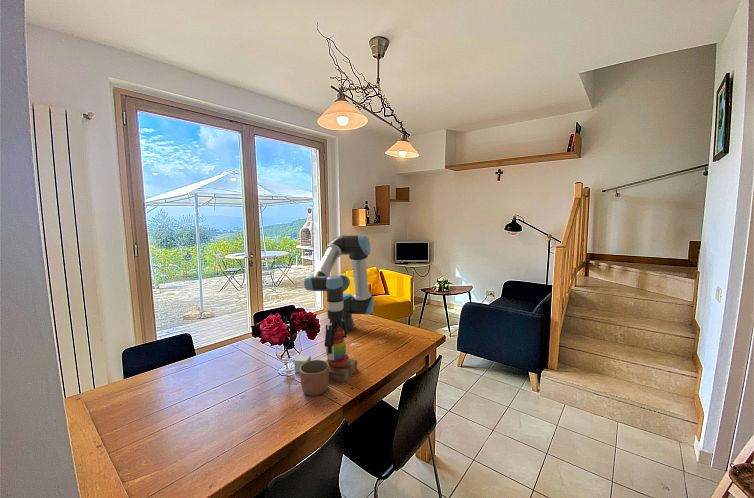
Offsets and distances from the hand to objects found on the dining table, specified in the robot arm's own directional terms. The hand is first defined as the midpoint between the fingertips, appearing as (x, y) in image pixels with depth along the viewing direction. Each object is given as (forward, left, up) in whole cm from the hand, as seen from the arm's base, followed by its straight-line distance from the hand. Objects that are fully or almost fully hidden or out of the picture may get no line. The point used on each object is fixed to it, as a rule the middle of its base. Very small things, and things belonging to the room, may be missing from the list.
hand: (336, 354), depth 145 cm
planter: (+16, -2, -10) cm, 18 cm away
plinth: (0, 0, -10) cm, 10 cm away
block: (+3, -18, -10) cm, 21 cm away
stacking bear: (0, 0, -4) cm, 4 cm away
